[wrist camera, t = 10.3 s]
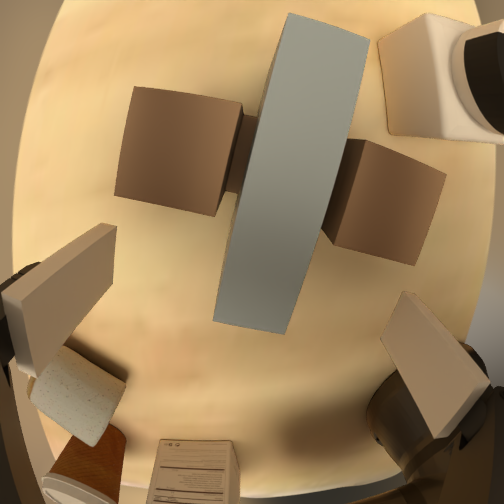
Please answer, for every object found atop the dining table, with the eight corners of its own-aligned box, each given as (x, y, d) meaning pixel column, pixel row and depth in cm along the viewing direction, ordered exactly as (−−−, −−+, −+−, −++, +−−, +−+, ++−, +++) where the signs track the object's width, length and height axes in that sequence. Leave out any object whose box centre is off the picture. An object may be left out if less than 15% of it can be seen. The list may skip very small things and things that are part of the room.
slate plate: (314, 81, 18) (370, 39, 8) (269, 248, 22) (284, 334, 12) (269, 69, 17) (288, 12, 8) (227, 239, 22) (212, 321, 12)
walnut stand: (362, 153, 19) (446, 174, 10) (346, 208, 21) (414, 266, 11) (188, 108, 18) (134, 86, 9) (175, 166, 20) (114, 195, 10)
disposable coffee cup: (152, 451, 32) (135, 528, 20) (101, 452, 33) (79, 518, 22) (107, 406, 28) (73, 491, 17) (57, 410, 30) (23, 479, 18)
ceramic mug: (61, 324, 24) (22, 377, 17) (134, 370, 26) (109, 432, 19) (47, 379, 28) (19, 425, 20) (106, 415, 29) (86, 466, 22)
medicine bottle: (462, 138, 19) (581, 161, 7) (387, 135, 19) (511, 150, 8) (452, 53, 16) (564, 31, 5) (375, 40, 16) (480, -20, 5)
